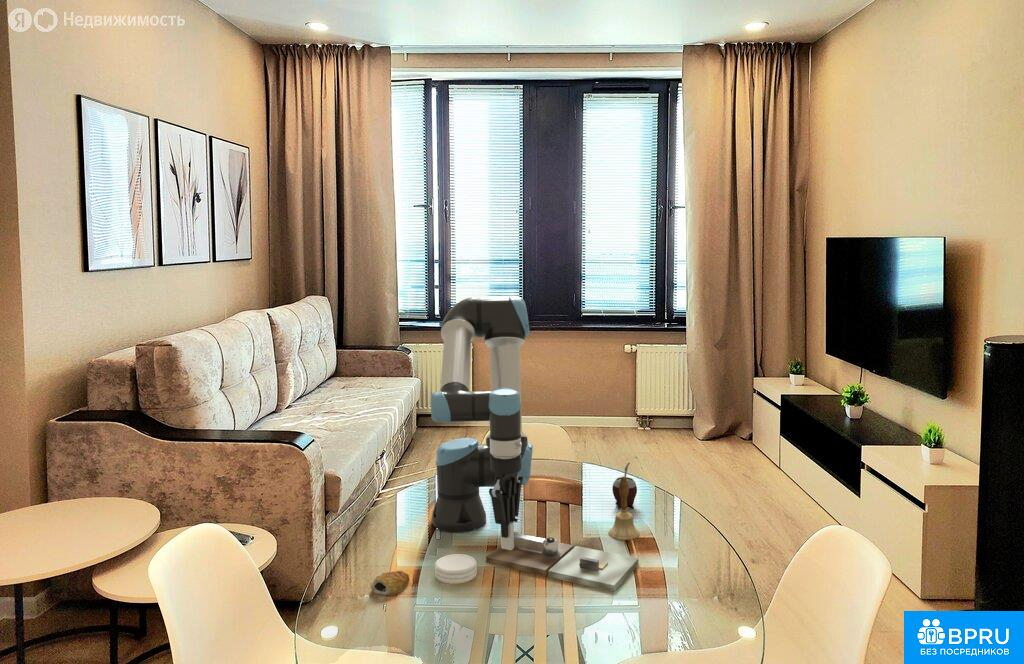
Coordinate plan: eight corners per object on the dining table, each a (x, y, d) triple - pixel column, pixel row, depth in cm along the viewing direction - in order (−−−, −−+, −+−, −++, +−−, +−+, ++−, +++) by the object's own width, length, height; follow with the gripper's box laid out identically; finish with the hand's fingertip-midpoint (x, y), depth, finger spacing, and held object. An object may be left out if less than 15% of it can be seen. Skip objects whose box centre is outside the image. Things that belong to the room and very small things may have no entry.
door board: (485, 562, 202) (485, 548, 202) (516, 539, 216) (516, 525, 216) (613, 591, 186) (613, 575, 185) (638, 564, 200) (638, 549, 199)
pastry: (394, 576, 196) (394, 561, 195) (416, 583, 193) (416, 567, 192) (368, 592, 188) (367, 576, 188) (391, 599, 185) (390, 583, 184)
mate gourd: (622, 500, 243) (622, 451, 241) (644, 506, 238) (644, 456, 236) (606, 506, 238) (606, 457, 236) (628, 513, 233) (629, 462, 230)
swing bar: (560, 551, 203) (560, 537, 202) (554, 556, 200) (553, 542, 199) (508, 540, 210) (508, 527, 209) (501, 545, 207) (501, 532, 206)
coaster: (439, 587, 190) (439, 573, 189) (431, 569, 199) (431, 556, 199) (481, 581, 193) (481, 567, 192) (471, 564, 202) (471, 550, 202)
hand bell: (638, 541, 214) (639, 482, 211) (607, 539, 215) (607, 481, 213) (640, 528, 222) (640, 472, 219) (609, 527, 223) (609, 471, 221)
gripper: (506, 463, 188) (508, 561, 191) (532, 449, 199) (533, 541, 203) (478, 459, 192) (480, 555, 195) (505, 445, 203) (507, 536, 206)
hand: (507, 548), depth 199 cm, fingers closed
